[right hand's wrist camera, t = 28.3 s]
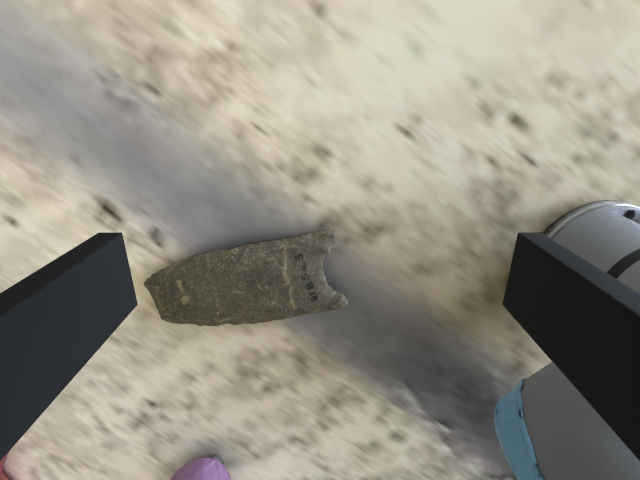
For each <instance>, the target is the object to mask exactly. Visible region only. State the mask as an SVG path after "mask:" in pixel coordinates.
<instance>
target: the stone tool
mask: <svg viewBox="0 0 640 480" xmlns="http://www.w3.org/2000/svg"><path fill="white" fill-rule="evenodd" d="M335 239H336V232H334V231H319V232H312V233H310V234H304V235H299V236H296V237H294V238H284V239H281V240H273V241H262V242H259V243H254V244H245V245H242V246H239V247H236V248H233V249H231V250H224V249H221V250H220V249H218V250H215V251H211V252H209V253H207V254H201V255H193V256H191V257H189V258H188V259H185V260H182V261H180V262H177V263H173V264H172V265H171V266H169V267H167V268H166V269H162V270H161V271H159V272H157V273H155V274H153V275H152V276H151V277H150V278H148V279H147V280H146V281H145V282H144V286H145V287H146V288H147V289H148V290H149V292H150V293H151V296H152V298H153V300H154V302H155V304H156V307H157V309H158V311H159V313H160V316H161V319H163V320H165V321H167V322H172V323H179V324H185V323H189V324H196V325H199V326H204V325H207V326H219V325H222V324H227V323H228V324H232V325H239V324H244V323H246V324H247V323H250V324H254V323H259V322H268V321H272V320H283V319H286V318H291V317H295V316H299V315H302V314H309V313H314V312H321V311H330V310H336V309H338V308H343V307H345V306H347V305H348V301H347V299H346V297H345V296H344V295H343V294H341V293H339V292H338V291H334V290H333V289H332V288H331V287H330V286H329V285H328V284H327V281H326V277H325V274H324V269H323V264H322V263H323V261H324V260H325V258H326V257H327V256H328V255H329V254H330V248H331V247H332V246H333V245H334V243H335V242H334V241H335Z"/></svg>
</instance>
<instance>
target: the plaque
mask: <svg viewBox="0 0 640 480" xmlns="http://www.w3.org/2000/svg"><path fill="white" fill-rule="evenodd" d="M5 459H6V455H5V456H4V457H3V459H2V460H1V461H0V480H9V479H8V478H7V476H6V475H5V474H4V473H3V471H2V468H3V465H4V462H5Z"/></svg>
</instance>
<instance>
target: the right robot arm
mask: <svg viewBox="0 0 640 480" xmlns="http://www.w3.org/2000/svg"><path fill="white" fill-rule="evenodd" d="M137 305H138V304H137V300H136V295H135V291H134V286H133V281H132V277H131V272H130V268H129V263H128V258H127V254H126V249H125V244H124V240H123V235H122V233H98V234H96V235H94V236H93V237H91V238H89V239H88V240H86V241H85V242H83V243H81V244H80V245H78V246H77V247H75V248H73V249H72V250H70V251H68V252H67V253H65V254H64V255H62V256H60V257H59V258H57V259H55V260H54V261H52V262H51V263H49V264H47V265H46V266H44V267H42V268H41V269H39V270H38V271H36V272H34V273H33V274H31V275H29V276H28V277H26V278H25V279H23V280H21V281H20V282H18V283H16V284H15V285H13V286H12V287H10V288H8V289H7V290H5V291H3V292H2V293H0V461H1V460H2V459H3V457H4V456H5V455H6V454H7V453H8V452H9V451H10V449H11V448H12V447H13V446H14V445H15V444H16V443H17V441H18V440H19V439H20V438H21V437H22V436H23V435H24V433H25V432H26V431H27V430H28V429H29V428H30V427H31V425H32V424H33V423H34V422H35V421H36V420H37V419H38V417H39V416H40V415H41V414H42V413H43V412H44V411H45V409H46V408H47V407H48V406H49V405H50V404H51V403H52V401H53V400H54V399H55V398H56V397H57V396H58V395H59V394H60V392H61V391H62V390H63V389H64V388H65V387H66V386H67V384H68V383H69V382H70V381H71V380H72V379H73V378H74V376H75V375H76V374H77V373H78V372H79V371H80V370H81V368H82V367H83V366H84V365H85V364H86V363H87V362H88V360H89V359H90V358H91V357H92V356H93V355H94V354H95V352H96V351H97V350H98V349H99V348H100V347H101V346H102V344H103V343H104V342H105V341H106V340H107V339H108V338H109V336H110V335H111V334H112V333H113V332H114V331H115V330H116V328H117V327H118V326H119V325H120V324H121V323H122V322H123V321H124V319H125V318H126V317H127V316H128V315H129V314H130V313H131V311H132V310H133V309H134V308H135V307H136V306H137ZM502 305H503V306H504V307H505V308H506V309H507V310H508V311H509V313H510V314H511V315H512V316H513V317H514V318H515V319H516V321H517V322H518V323H519V324H520V325H521V326H522V327H523V328H524V330H525V331H526V332H527V333H528V334H529V335H530V336H531V338H532V339H533V340H534V341H535V342H536V343H537V344H538V346H539V347H540V348H541V349H542V350H543V351H544V352H545V354H546V355H547V356H548V357H549V358H550V359H551V360H552V362H551V363H550V364H548V365H547V366H545V367H544V368H542V369H541V370H539V371H538V372H536V373H535V374H533V375H532V376H530V377H529V378H526V379H523V380H521V381H520V382H519V384H518V386H517V387H515V388H514V389H513V390H512V391H511V392H509V393H508V394H507V395H505V396H504V397H503V398H501V399H500V400H499V401H498V403H497V404H496V406H495V410H494V422H495V424H494V425H495V429H496V433H497V436H498V439H499V442H500V445H501V447H502V450H503V452H504V455H505V457H506V459H507V461H508V463H509V465H510V467H511V469H512V471H513V473H514V475H515V476H516V478H517V480H640V207H637V206H634V205H631V204H629V203H625V202H620V201H601V202H595V203H591V204H588V205H585V206H582V207H580V208H577V209H575V210H573V211H571V212H570V213H568V214H566V215H565V216H563V217H562V218H561V219H559V220H558V221H557V222H556V223H555V224H553V225H552V226H551V227H550V228H549V229H548V231H547V232H546V233H545V234H542V233H518V235H517V240H516V244H515V249H514V254H513V258H512V263H511V268H510V272H509V277H508V281H507V286H506V291H505V295H504V300H503V304H502Z"/></svg>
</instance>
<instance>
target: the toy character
mask: <svg viewBox="0 0 640 480" xmlns="http://www.w3.org/2000/svg"><path fill="white" fill-rule="evenodd" d="M170 480H231V479H230V476H229V473H228V472H227V470H226V468H225V467H224V464H223V460H222V458H221V456H220V455H214V456H212V457H210V458H200V457H199V458H196V459H194V460H193V461H191V462H190V463H188V464H186V465H184V466H183V467H181V468H180V469H178V470H177V471H176V472H175V474H174V475H173V477H172V478H171V479H170Z"/></svg>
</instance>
